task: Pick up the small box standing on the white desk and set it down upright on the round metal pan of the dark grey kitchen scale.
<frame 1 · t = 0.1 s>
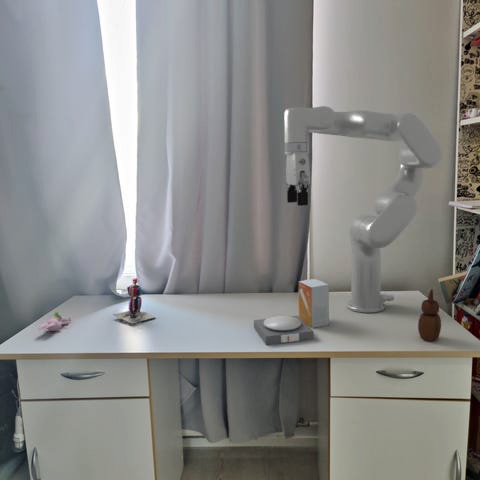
hand: (297, 203, 156), 37 cm above the table, fingers open, 9 cm apart
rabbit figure: (55, 330, 155), on the table
small box: (313, 323, 154), on the table
wooden figurine: (429, 339, 138), on the table
scale: (282, 333, 146), on the table
statue: (134, 319, 163), on the table
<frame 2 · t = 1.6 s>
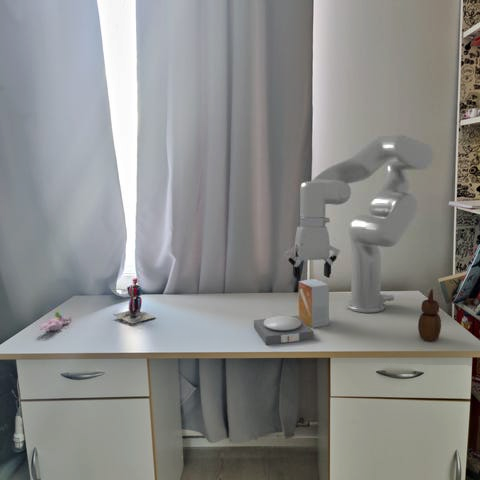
hand: (312, 277, 151), 15 cm above the table, fingers open, 9 cm apart
nothing on the table moved.
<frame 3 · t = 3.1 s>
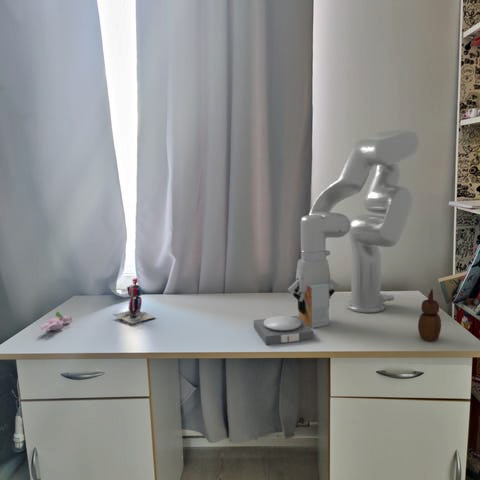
hand: (313, 311, 153), 4 cm above the table, fingers closed on small box, 7 cm apart
small box: (313, 323, 154), on the table, touching gripper
everything else where it was.
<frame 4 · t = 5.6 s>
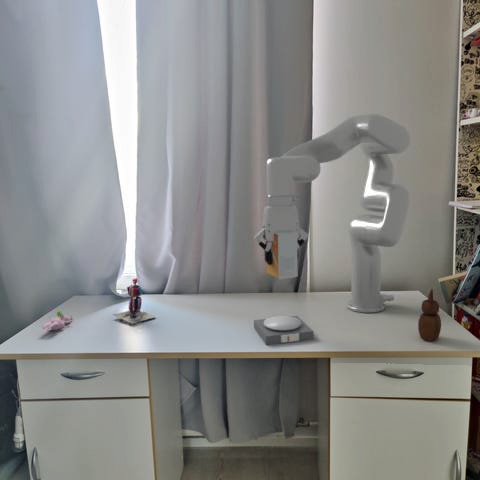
hand: (281, 262, 142), 22 cm above the table, fingers closed on small box, 7 cm apart
small box: (281, 275, 143), point 18 cm above the table, touching gripper
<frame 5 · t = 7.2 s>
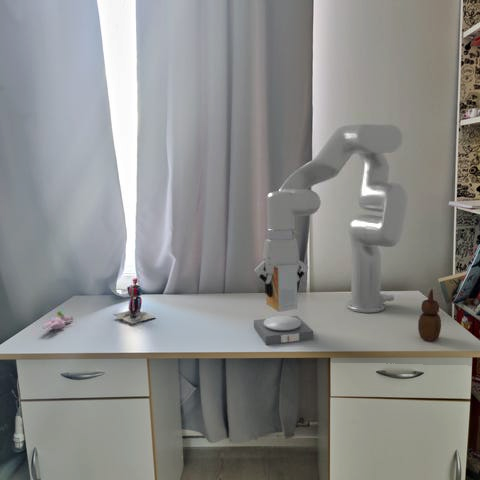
hand: (281, 294, 144), 12 cm above the table, fingers closed on small box, 7 cm apart
small box: (281, 307, 144), point 8 cm above the table, touching gripper
when the fingers open (9 cm above the table, at t = 8.5 s): small box drops 1 cm, resting on scale.
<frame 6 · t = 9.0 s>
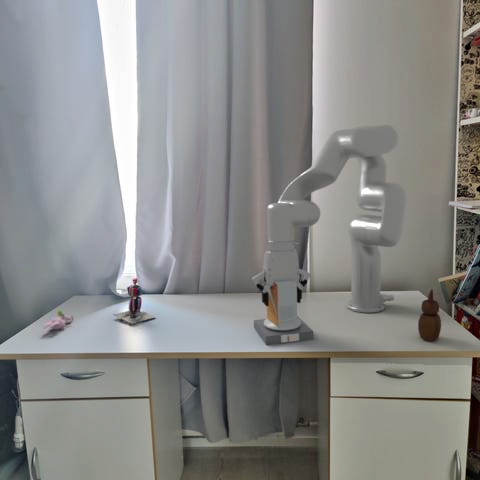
hand: (282, 303, 144), 9 cm above the table, fingers open, 9 cm apart
small box: (282, 322, 145), point 3 cm above the table, touching scale
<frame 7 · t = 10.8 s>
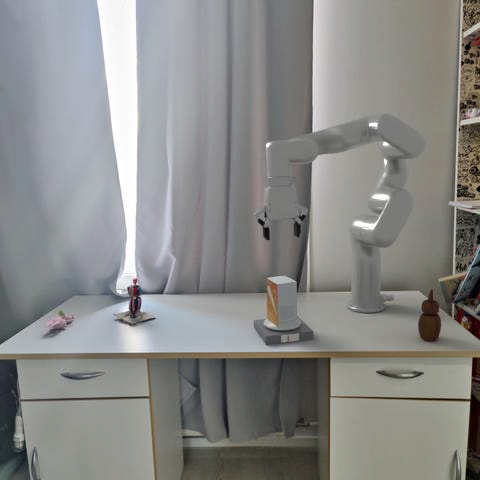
hand: (282, 238, 151), 27 cm above the table, fingers open, 9 cm apart
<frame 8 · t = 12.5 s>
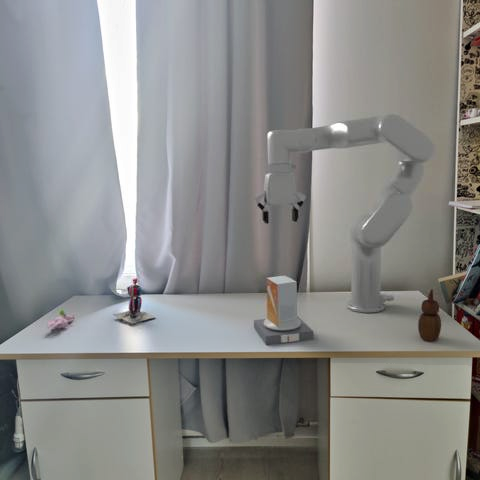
hand: (280, 222, 161), 30 cm above the table, fingers open, 9 cm apart
at the end: small box inside the target area on the scale (0.1 cm from its centre), point 3.3 cm above the scale's base; small box tilted 0°; the gripper is holding nothing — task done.
